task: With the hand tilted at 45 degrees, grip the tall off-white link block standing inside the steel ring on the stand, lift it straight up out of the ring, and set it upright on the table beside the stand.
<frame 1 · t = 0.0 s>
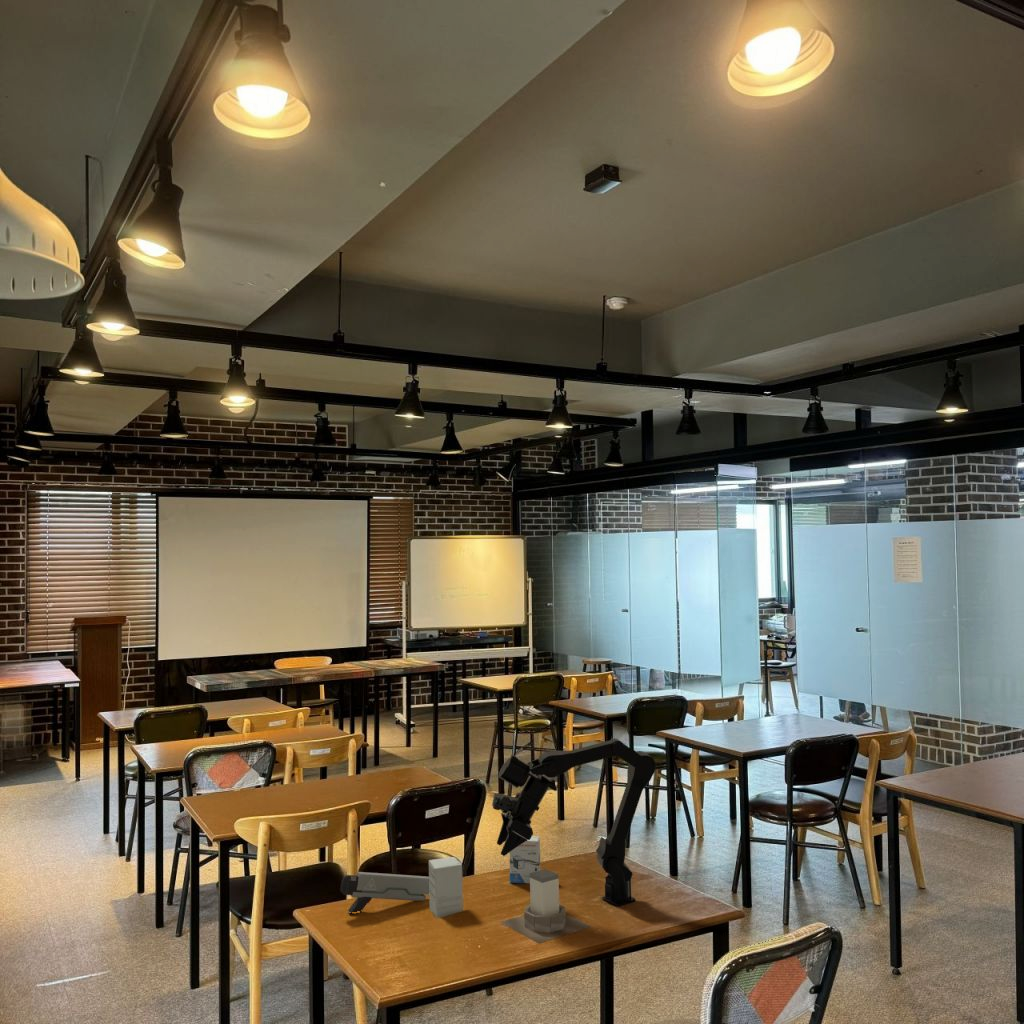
hand: (500, 849, 230), 15 cm above the table, tool tilted 35°, fingers open, 9 cm apart
gun: (387, 908, 232), on the table
ink box: (525, 881, 250), on the table
link block: (545, 924, 215), point 1 cm above the table, touching ring stand
supplement box: (446, 912, 227), on the table
ring stand: (545, 929, 215), on the table
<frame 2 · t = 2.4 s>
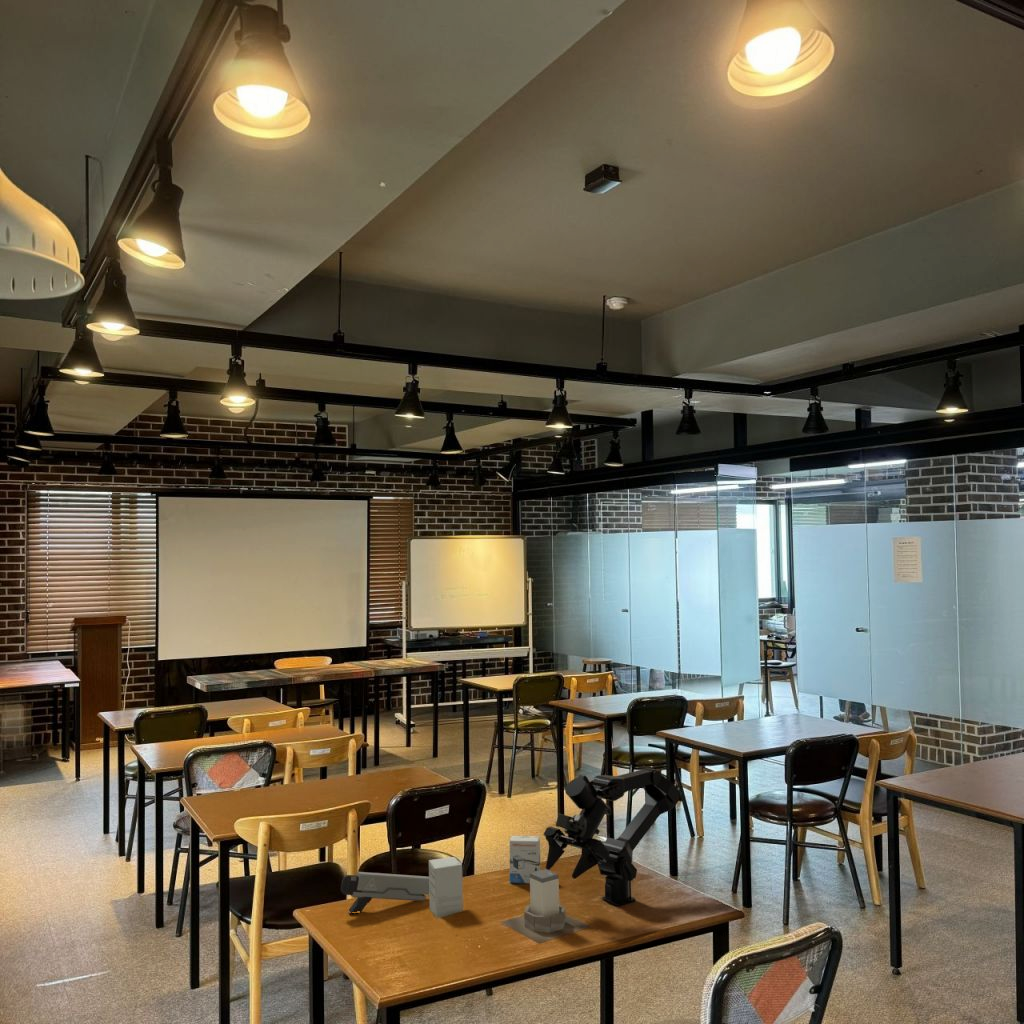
hand: (559, 873, 219), 12 cm above the table, tool tilted 45°, fingers open, 9 cm apart
nothing on the table moved.
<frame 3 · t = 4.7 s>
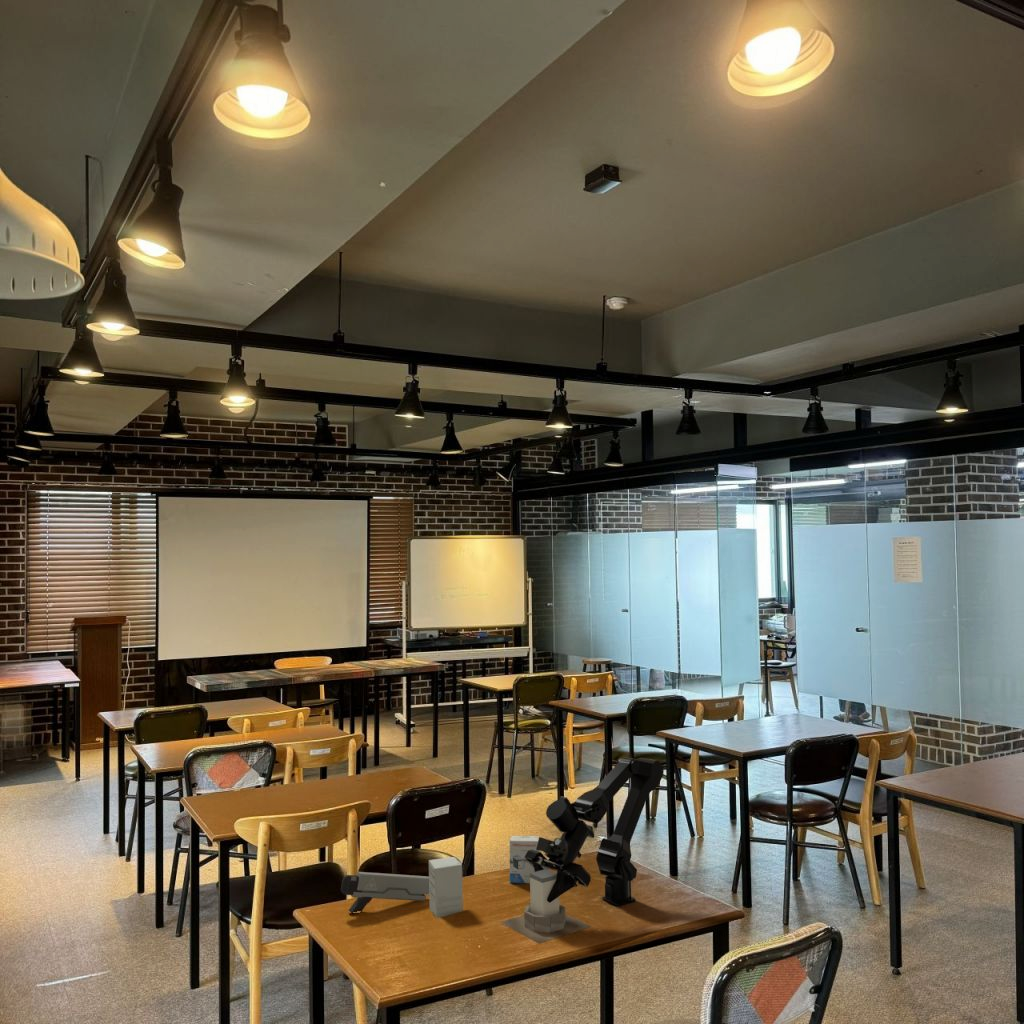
hand: (540, 898, 215), 8 cm above the table, tool tilted 45°, fingers closed on link block, 5 cm apart
link block: (545, 924, 215), point 1 cm above the table, touching gripper, ring stand
everything else where it was.
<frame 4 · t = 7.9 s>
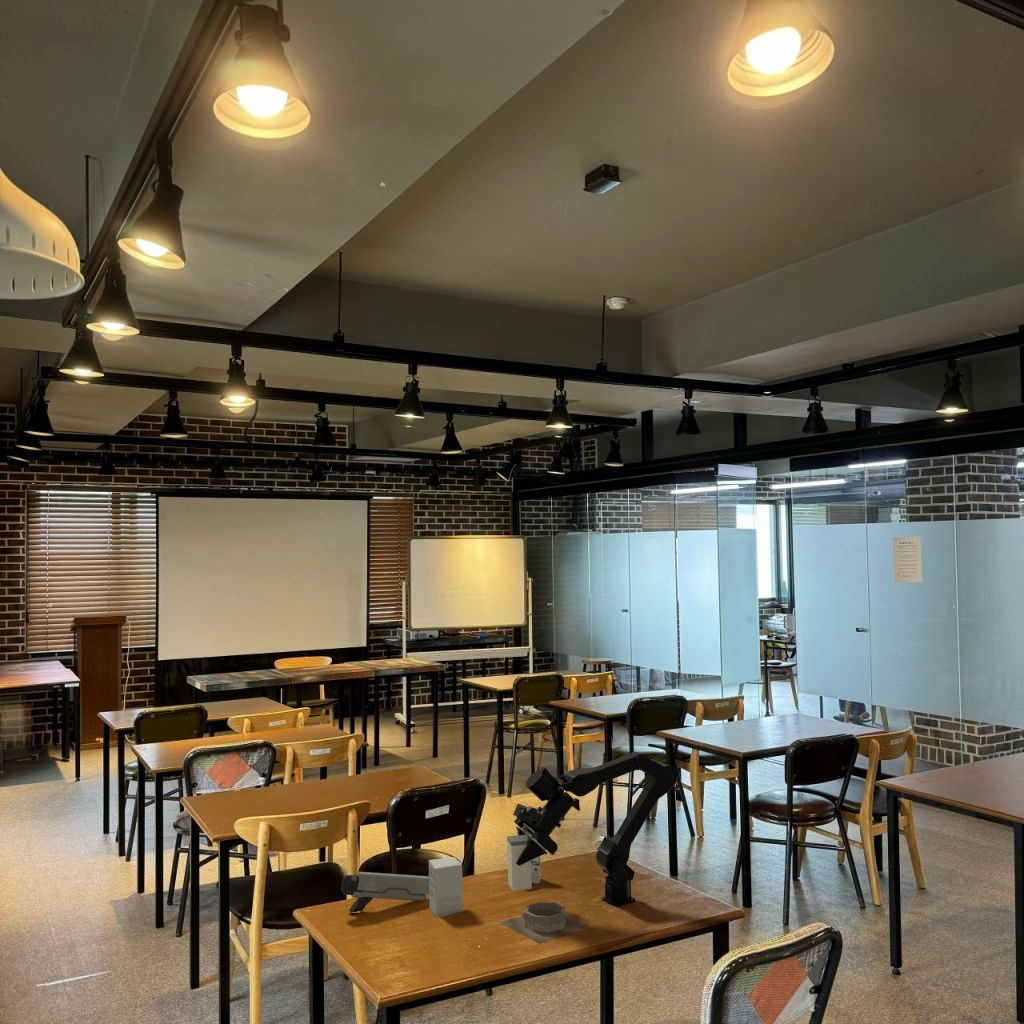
hand: (514, 861, 225), 13 cm above the table, tool tilted 45°, fingers closed on link block, 5 cm apart
link block: (519, 886, 225), point 7 cm above the table, touching gripper
everything else where it was.
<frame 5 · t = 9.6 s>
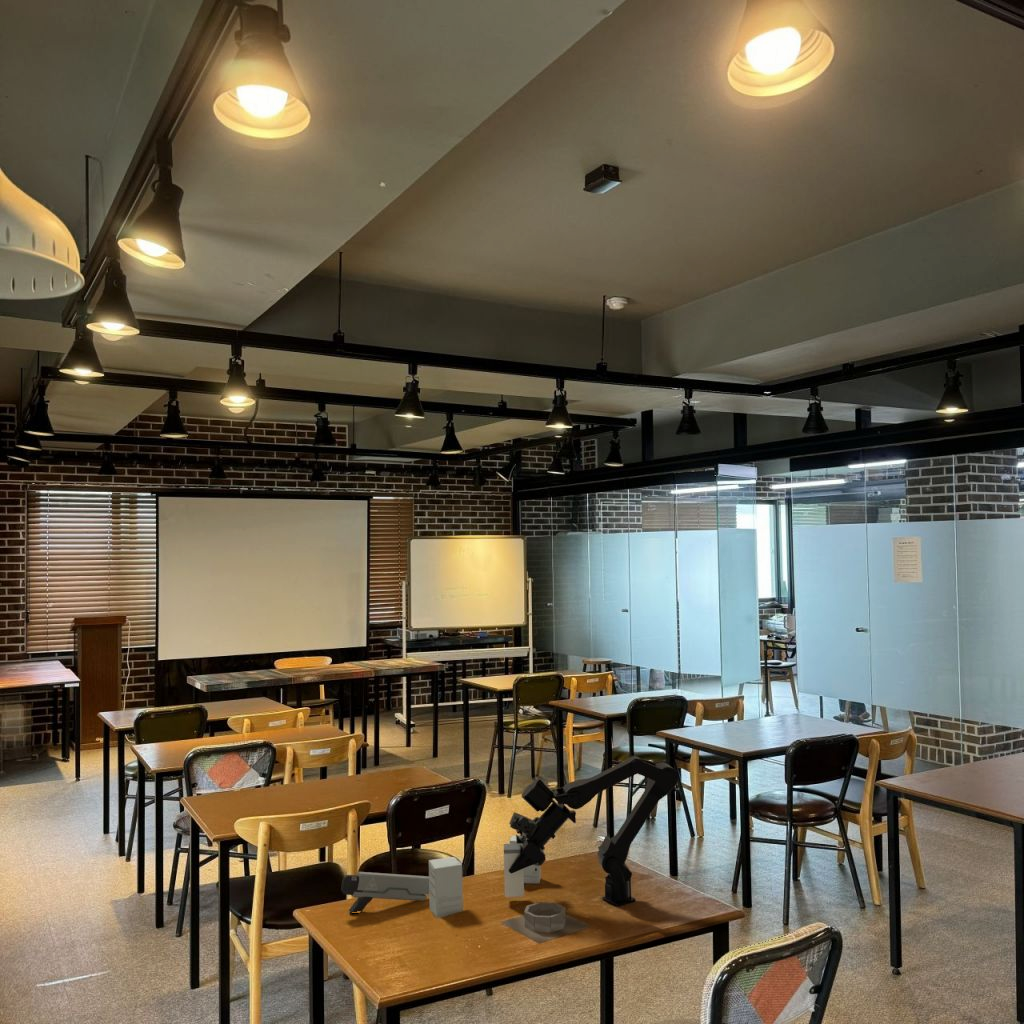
hand: (508, 868, 231), 10 cm above the table, tool tilted 45°, fingers closed on link block, 5 cm apart
link block: (514, 893, 231), point 3 cm above the table, touching gripper
everything else where it was.
when the fingers open (7 cm above the table, at t = 10.9 s): link block drops 1 cm, on the table.
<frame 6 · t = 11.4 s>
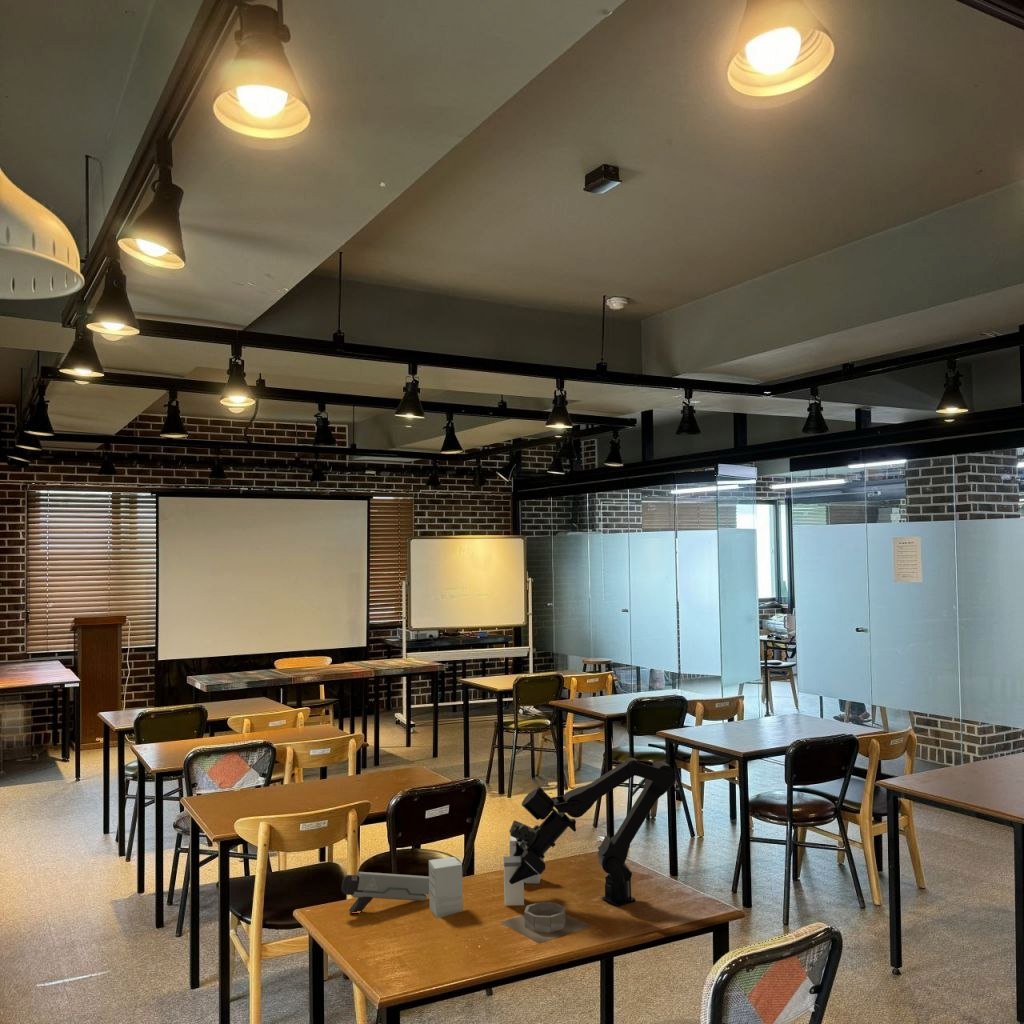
hand: (508, 876, 231), 8 cm above the table, tool tilted 45°, fingers open, 9 cm apart
link block: (514, 906, 230), on the table
everything else where it was.
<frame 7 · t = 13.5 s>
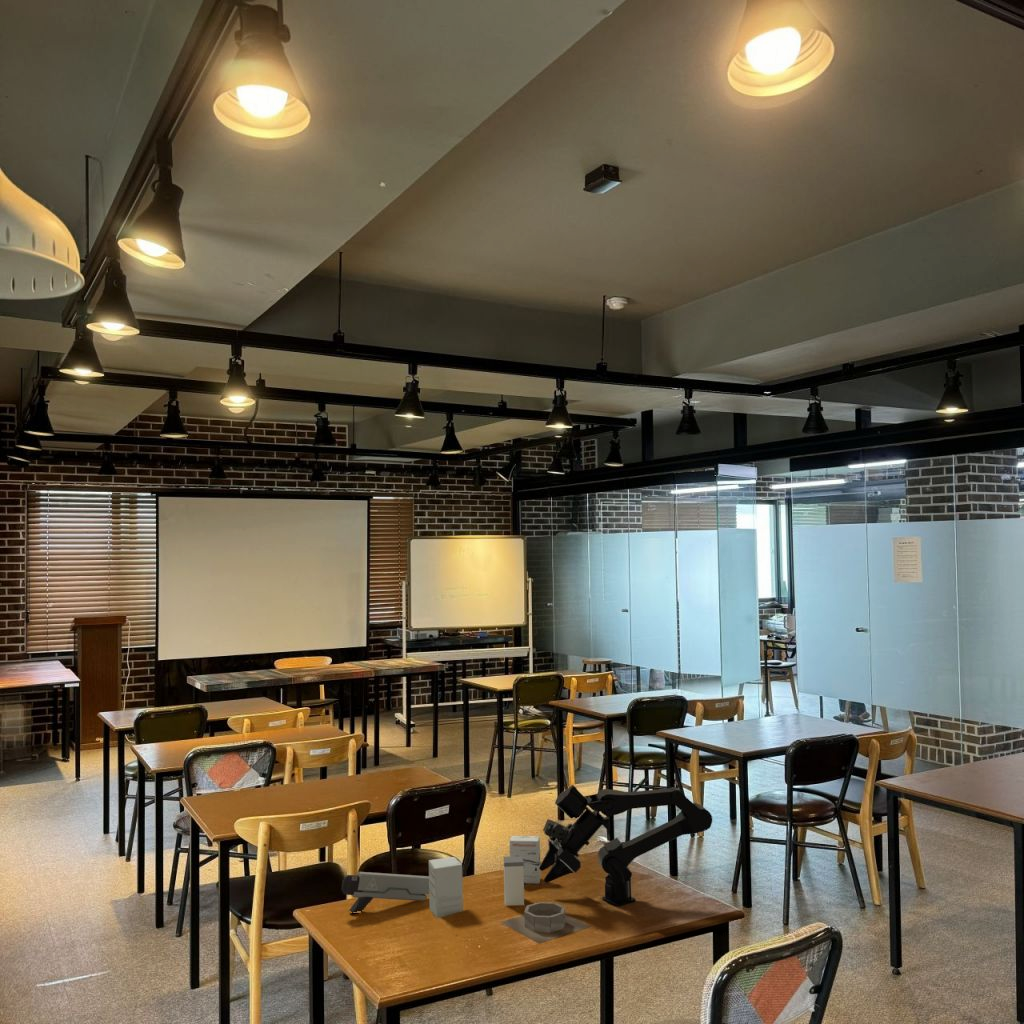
hand: (542, 875, 232), 7 cm above the table, tool tilted 45°, fingers open, 9 cm apart
nothing on the table moved.
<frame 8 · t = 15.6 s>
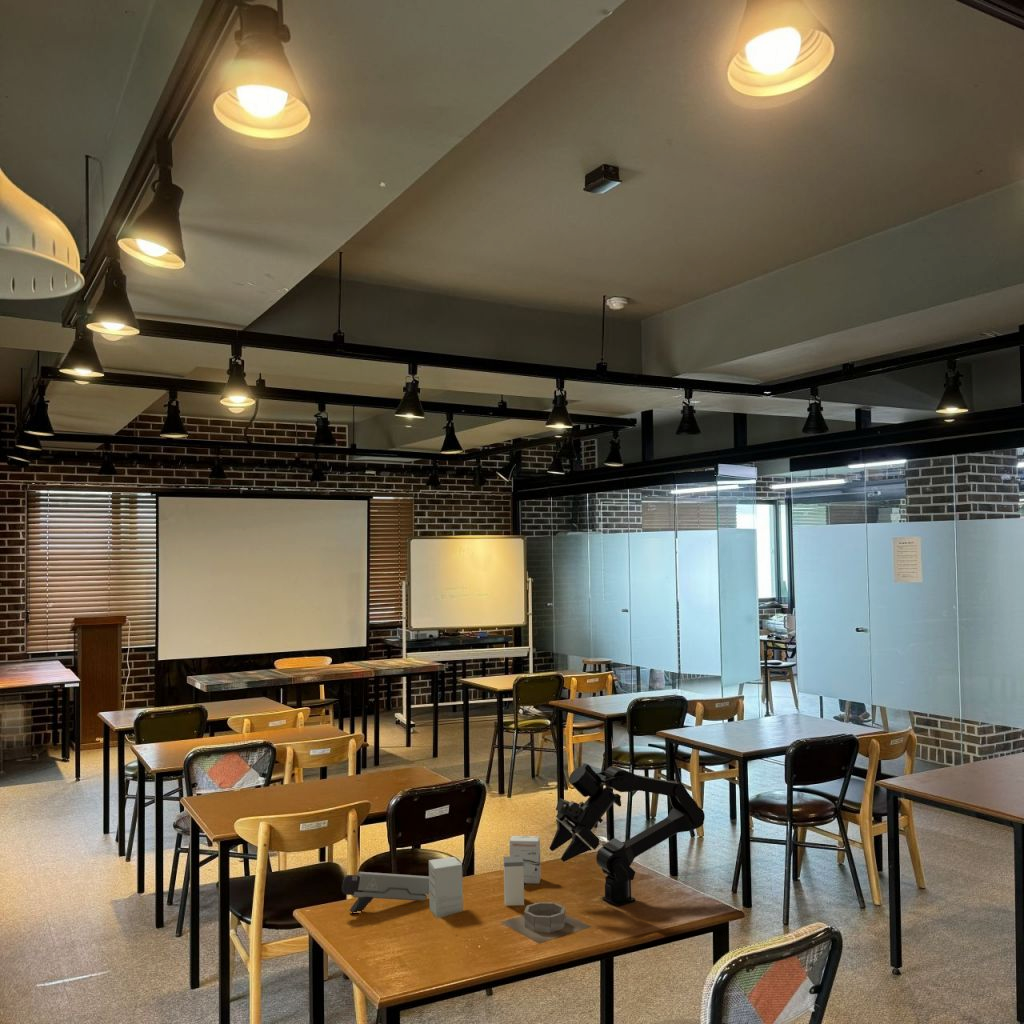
hand: (556, 855, 229), 14 cm above the table, tool tilted 45°, fingers open, 9 cm apart
nothing on the table moved.
at the end: link block inside the target area (0.0 cm from its centre), on the table; link block tilted 0°; link block touching table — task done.
